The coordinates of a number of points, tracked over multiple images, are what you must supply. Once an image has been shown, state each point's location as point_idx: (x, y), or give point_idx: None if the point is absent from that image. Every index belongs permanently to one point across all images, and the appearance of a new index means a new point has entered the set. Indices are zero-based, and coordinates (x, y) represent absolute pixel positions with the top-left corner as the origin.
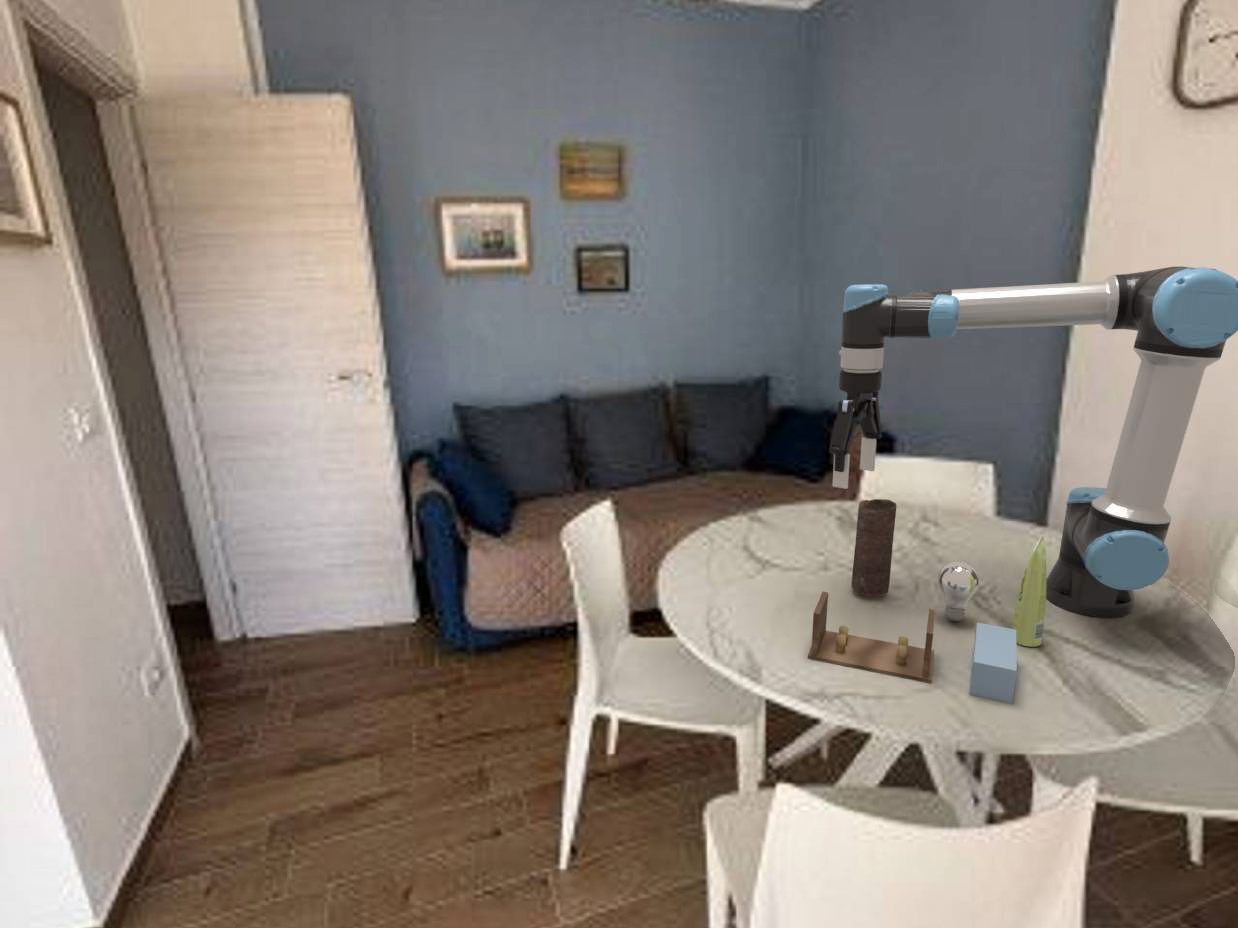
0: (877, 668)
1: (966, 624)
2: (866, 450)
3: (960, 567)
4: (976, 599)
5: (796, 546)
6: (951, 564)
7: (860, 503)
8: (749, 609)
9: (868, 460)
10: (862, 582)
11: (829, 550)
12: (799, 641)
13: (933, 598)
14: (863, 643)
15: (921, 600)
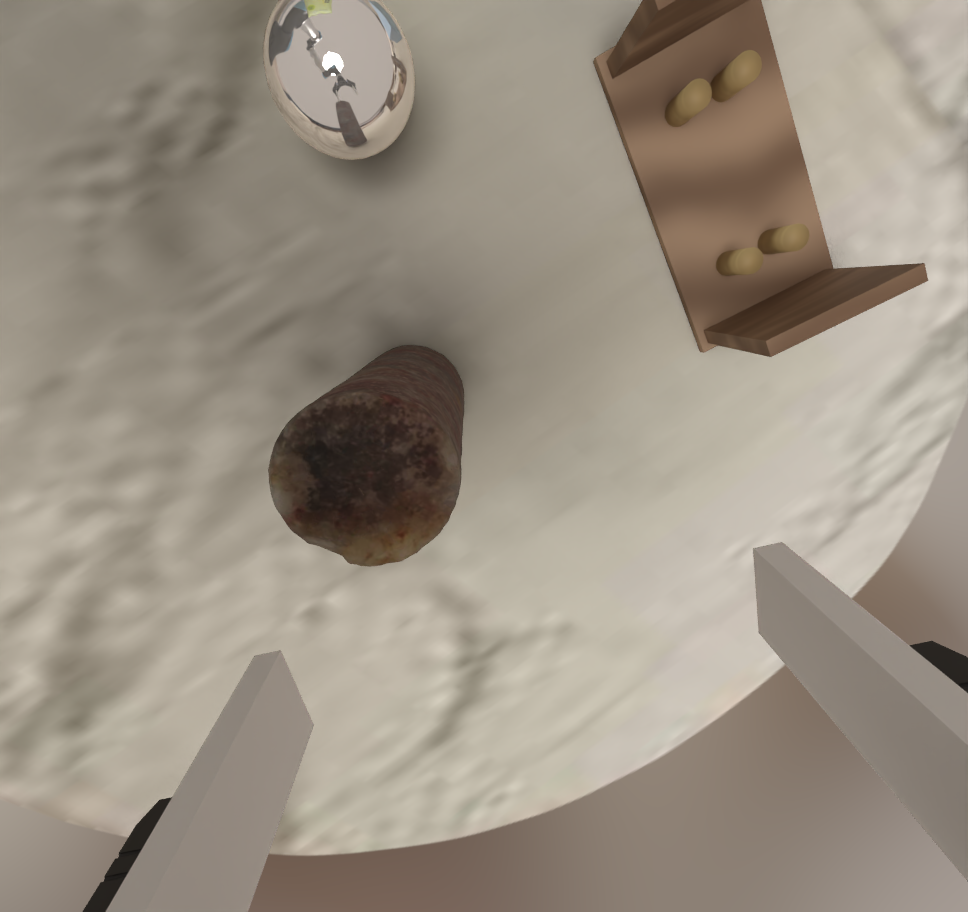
0: (788, 116)
1: None
2: (237, 849)
3: (351, 25)
4: (189, 156)
5: (329, 676)
6: (351, 77)
7: (409, 551)
8: (710, 526)
9: (266, 745)
10: (463, 396)
11: (277, 614)
12: None
13: (295, 253)
14: (693, 224)
15: (335, 270)
